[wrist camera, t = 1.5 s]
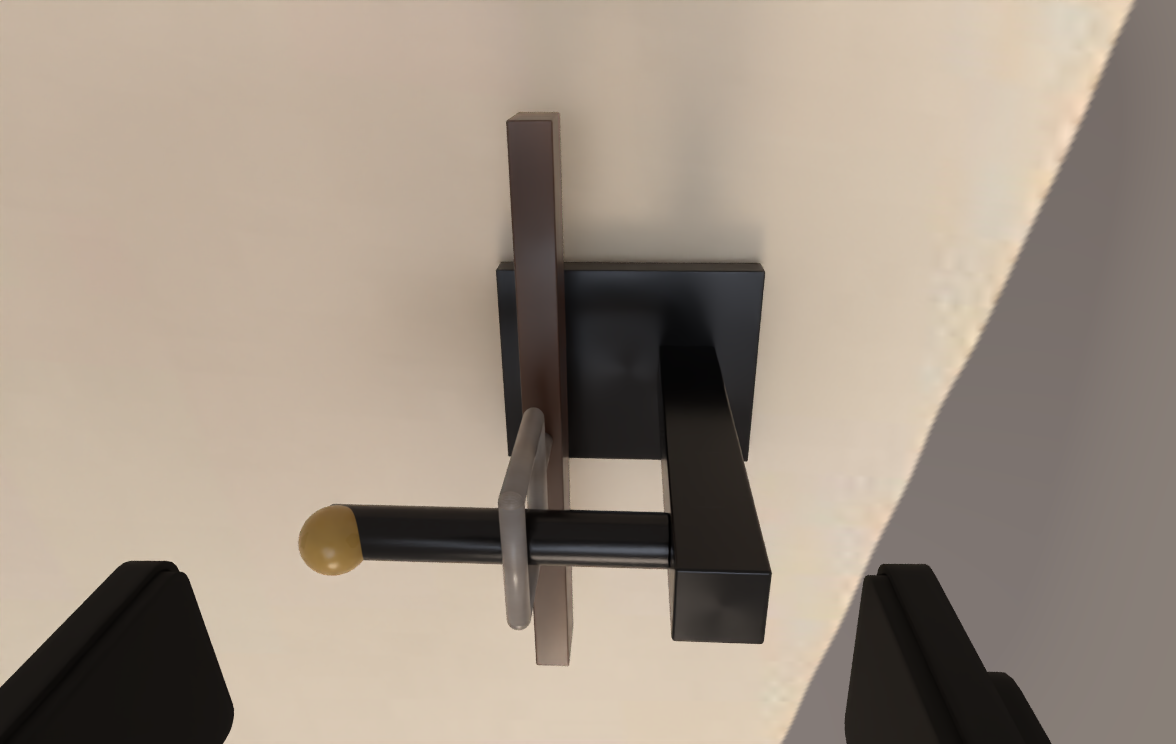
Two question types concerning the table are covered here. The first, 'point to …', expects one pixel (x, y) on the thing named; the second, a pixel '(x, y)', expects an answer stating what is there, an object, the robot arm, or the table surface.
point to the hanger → (538, 385)
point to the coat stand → (621, 447)
